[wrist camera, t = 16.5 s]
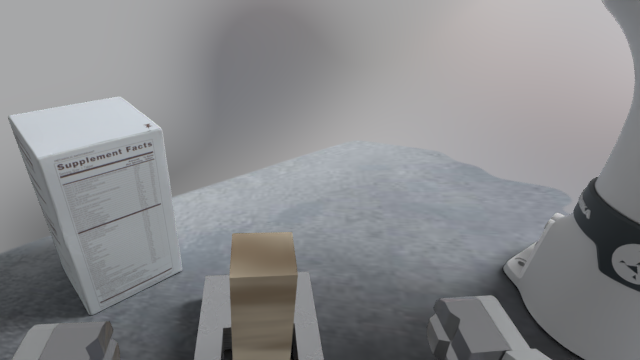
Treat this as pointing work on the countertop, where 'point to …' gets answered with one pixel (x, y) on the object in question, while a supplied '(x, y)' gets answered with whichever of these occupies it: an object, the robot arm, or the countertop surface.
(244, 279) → the square peg
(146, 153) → the supplement box
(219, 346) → the block with square hole
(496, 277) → the countertop surface
